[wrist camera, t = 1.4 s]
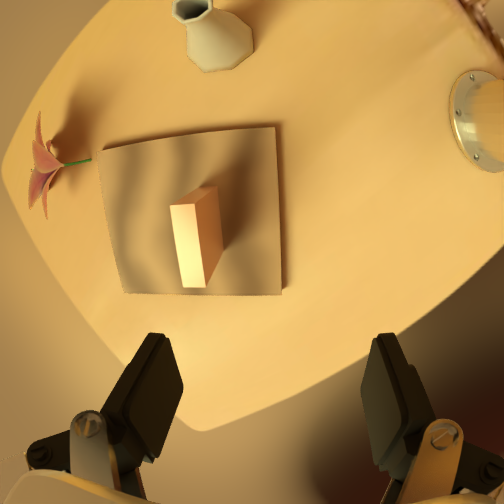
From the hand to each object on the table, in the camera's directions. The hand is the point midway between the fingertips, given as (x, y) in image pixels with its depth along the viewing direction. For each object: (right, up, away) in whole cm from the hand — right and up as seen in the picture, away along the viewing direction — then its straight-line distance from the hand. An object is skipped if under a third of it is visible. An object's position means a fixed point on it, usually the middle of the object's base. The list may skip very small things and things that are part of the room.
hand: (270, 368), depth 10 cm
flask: (-4, +26, +14) cm, 29 cm away
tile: (-5, +8, +20) cm, 22 cm away
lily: (-24, +16, +20) cm, 35 cm away
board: (-8, +8, +21) cm, 24 cm away
